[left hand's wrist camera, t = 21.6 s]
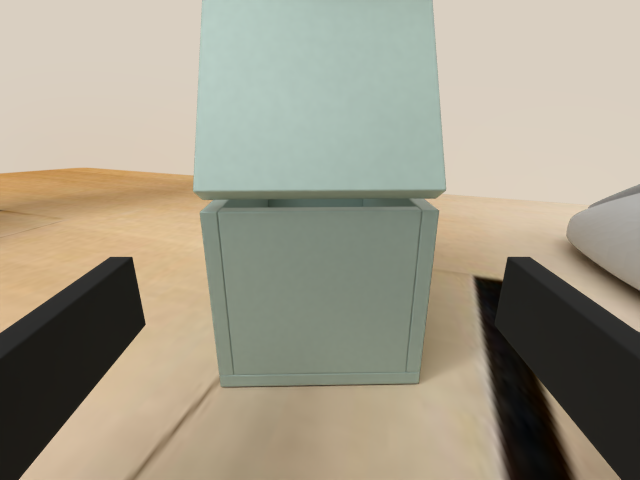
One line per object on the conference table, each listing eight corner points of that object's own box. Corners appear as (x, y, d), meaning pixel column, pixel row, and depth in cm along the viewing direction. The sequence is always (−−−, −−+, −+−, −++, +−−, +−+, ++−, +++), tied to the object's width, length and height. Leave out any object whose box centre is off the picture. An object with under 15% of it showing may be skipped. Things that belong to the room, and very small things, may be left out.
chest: (264, 254, 34) (258, 159, 31) (367, 253, 34) (371, 158, 31) (220, 387, 17) (199, 211, 14) (419, 384, 18) (439, 210, 15)
